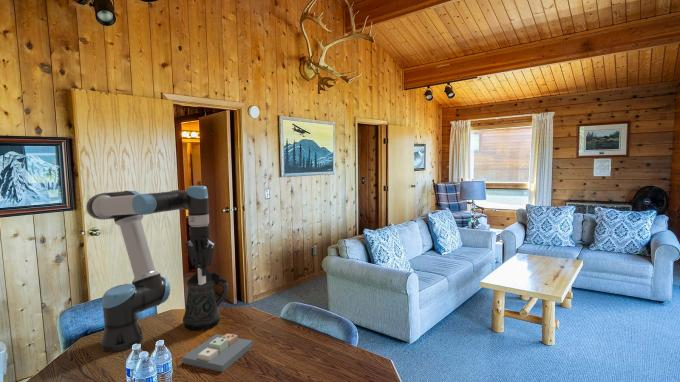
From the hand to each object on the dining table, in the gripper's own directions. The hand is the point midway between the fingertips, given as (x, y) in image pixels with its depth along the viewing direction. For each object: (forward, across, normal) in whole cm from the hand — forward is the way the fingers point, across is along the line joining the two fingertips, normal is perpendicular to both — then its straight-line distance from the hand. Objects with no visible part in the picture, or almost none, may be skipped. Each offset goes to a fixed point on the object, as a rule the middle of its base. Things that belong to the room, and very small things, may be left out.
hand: (202, 283), depth 147 cm
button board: (+26, +9, -3) cm, 28 cm away
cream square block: (+26, +9, -9) cm, 29 cm away
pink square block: (+26, +9, +3) cm, 27 cm away
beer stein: (+27, -16, +19) cm, 36 cm away
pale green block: (+25, +9, -3) cm, 26 cm away
